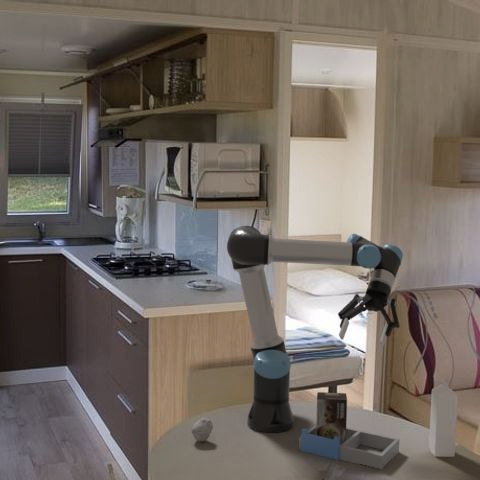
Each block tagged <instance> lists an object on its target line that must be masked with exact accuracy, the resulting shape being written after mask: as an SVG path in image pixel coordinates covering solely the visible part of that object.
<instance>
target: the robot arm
mask: <svg viewBox="0 0 480 480" xmlns="http://www.w3.org/2000/svg"><path fill="white" fill-rule="evenodd" d="M226 251H227V254H228V256H229V258H230V261H231V262H232V268H233V271H235V272H237V273H238V274H239V275H238V276H239V279H240V283H241V289H242V293H243V299H244V302H245V307H246V311H247V317H248V321H249V326H250V330H251V334H252V339H253V341H252V342H251V344H250V350H251V354H252V355H251V356H252V361H253V397H252V398H253V401H252V403H251V406H250V409H249V412H248V415H247V426H248V427H249V428H250V429H252V430H255V431H258V432H263V433H282V432H286V431H289V430H291V429H292V428H293V427H294V424H295V423H294V422H295V420H294V415H293V411H292V408H291V405H290V404H291V403H290V380H291V379H290V375H291V373H290V372H291V367H292V366H291V365H292V364H291V359H290V356H289V354H288V352H287V349H286V343H285V341H284V337H282V336H280V335H279V334H278V329H277V328H278V327H277V324H276V323H277V322H276V320H275V316H274V315H275V314H274V309H273V304H272V300H271V295H270V291H269V286H268V283H267V281H268V280H267V277H266V273H265V266H266V265H267V266H270V264H271V263H287V264H288V263H292V264H309V265H327V266H328V265H329V266H330V265H332V266H349V267H350V266H352V267H360V268H363V269H369V270H371V269H373V272H372V275H371V277H370V280H369V283H368V285H367V288H366V291H365V294H364V295H363V296H362V295H360V294H358V293H355V295H354V296H353V298H352V299H351V300H350V301H349V302H348V303H347V304H346V305H345V306H344V307H343V308H342V309H341V310H340V311H339V312H338V314H337V315H338V318H339V319H340V320H341V321H340V324H339V328H340V331H339V333H338V336H339V338H340V340H344V338H345V336H346V333H347V330H348V327H349V325H350V321H351V320H352V319H354V317H357V316H358V315H360V314H361V313H363V312H366V311H368V312H371V311H372V312H377V313H378V312H379V311H380V313H381V315H382V316H383V318H384V320H385V322H386V323H385V324H384V327H383V328H382V329H383V330H382V333H381V336H380V339H379V344H380V346H381V347H384V346H385V343H386V341H387V337H391V335H392V331H393V329H394V328H397V329H399V328H400V322H399V318H398V313H397V301H396V299H395V298H391V299H389V298H390V294H391V292H392V289H393V286H394V283H395V281H396V277H397V275H398V273H399V269H400V267H401V264H402V260H403V256H404V255H403V251H402V249H401V248H400V247H398V245H392V244H385V245H383V246H379V245H377V244H376V243H374V242H373V241H371V240H368V239H367V238H364V237H363V236H361V235H359V234H357V233H352V234H351V235H349V237H348V239H347V240H346V241H343V242H342V241H332V240H331V241H329V240H312V239H295V238H294V239H292V238H276V237H275V238H274V237H272V235H270V234H264V233H262V232H261V231H260V230H258V229H257V228H255V226H252V225H241V226H238V227H236V228H234V229H233V230H232V231H231V232H230V234H229V236H228V239H227V243H226ZM386 306H389V308H390V309H391V314H392V317H393V321H392V320H391V318H390V315H389V314H388V313H387V311H386V309H385V307H386Z"/></svg>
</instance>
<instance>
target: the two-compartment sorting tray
mask: <svg viewBox="0 0 480 480" xmlns="http://www.w3.org/2000/svg"><path fill="white" fill-rule="evenodd" d="M298 438H299V439H298V441H299V442H298V450H299V451H300V452H304V453H309V454H313V455H316V456H320V457H324V458H329V459H332V460H337V461H339V460H341V461H345V462H349V463H353V464H356V465H360V464H363V465H362V466H364V465H367V466H366V467H368V466H371V467H370V468H372V467H374V468H373V469H377V468H378V469H377V470H381V469H382V468H383V467H384V466H385V465H386V464H387V463H388V462H389V461H390V460H391V459H392V460H393V459H394V458H395V456H396V455H398V454H399V453H400V440H401V439H400V438H397V437H396V438H395V437H392V436H386V435H382V434H378V433H373V432H369V431H366V430H365V431H363V430H359V429H355V428H350V427H347V426H346V441H345V442H344V443H343V444H342V445H340V437H338V436H334V439H329V438H325V437H321V436H316V424H315V425H314V426H312V427H310V428H309V429H308V428H301V435H299V437H298ZM360 445H362V446H366V447H370V448H375V449H379V450H383V451H382V452H381V453H376V452H372V451H367V450H363V449H360V448H358V447H359V446H360ZM390 462H391V461H390ZM390 462H389V463H390ZM357 463H358V464H357ZM389 463H388V464H389ZM388 464H387V465H388ZM387 465H386V466H387ZM386 466H385V467H386ZM385 467H384V468H385ZM384 468H383V469H384ZM383 469H382V470H383Z"/></svg>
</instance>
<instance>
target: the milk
mask: <svg viewBox="0 0 480 480" xmlns="http://www.w3.org/2000/svg"><path fill="white" fill-rule="evenodd" d="M458 396H459V395H458V394H457V393H456V392H455V391H454V390H453V389H451V387H449V384H448V383H447V382H446V381H445V380H444V379H441V383H440V384H439V385H437V386H435V387H434V388H432V389H431V398H430V399H431V402H430V417H429V419H430V420H429V441H428V450H429V451H430V452H431V454H432V455H433V457H435V458H438V457H439V458H443V457H444V458H446V457H449V458H450V457H451V458H452V457H453V458H454V457H455V455H456V454H455V451H456V434H457V416H458V415H457V414H458V398H459V397H458Z"/></svg>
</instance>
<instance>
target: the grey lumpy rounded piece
mask: <svg viewBox="0 0 480 480" xmlns="http://www.w3.org/2000/svg"><path fill="white" fill-rule="evenodd" d="M213 423H214V422H213V421H212V420H210V419H208V418H207V417H201V418H200V419H199V420H197V421H196V422H195V423H194V424H193V426H192V428H191V433H192V434H193V438H194V439H195V440H196V441H197V442H199V443H200V442H203V443H204V442H206V441H207V440H208V439H209V438H210V435H211V433H212V431H213V427H214V424H213Z"/></svg>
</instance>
